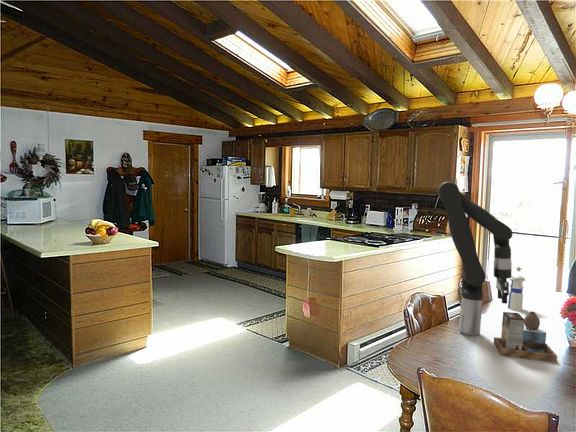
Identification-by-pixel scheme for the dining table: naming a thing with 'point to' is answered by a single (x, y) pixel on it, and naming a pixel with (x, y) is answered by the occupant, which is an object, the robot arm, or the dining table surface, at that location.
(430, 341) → the dining table surface
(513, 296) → the white blue toy tower
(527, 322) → the vase
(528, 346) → the organiser
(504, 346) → the coffee box
